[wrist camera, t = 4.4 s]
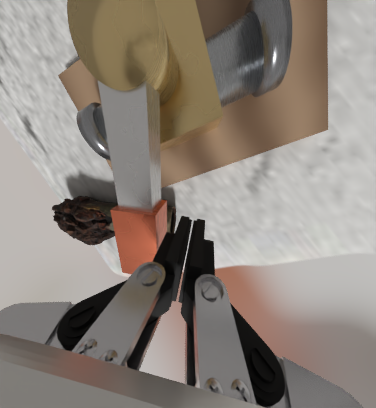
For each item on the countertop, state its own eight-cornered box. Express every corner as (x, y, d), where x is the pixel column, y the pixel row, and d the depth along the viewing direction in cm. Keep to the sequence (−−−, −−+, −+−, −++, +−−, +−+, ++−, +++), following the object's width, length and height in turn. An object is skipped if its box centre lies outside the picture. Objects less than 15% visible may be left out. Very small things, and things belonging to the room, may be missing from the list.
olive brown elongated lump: (177, 201, 21) (167, 221, 16) (176, 236, 24) (167, 263, 19) (71, 189, 22) (32, 204, 17) (83, 224, 25) (51, 245, 20)
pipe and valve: (253, 14, 11) (318, -176, 4) (266, 106, 13) (322, 71, 7) (102, 107, 16) (22, 80, 9) (131, 164, 18) (85, 177, 11)
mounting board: (309, -96, 10) (326, -135, 8) (316, 130, 15) (328, 129, 13) (71, 81, 16) (58, 75, 15) (133, 195, 21) (128, 199, 20)
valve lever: (118, 31, 7) (50, -52, 4) (179, 30, 7) (155, -61, 4) (139, 241, 13) (118, 271, 10) (173, 246, 12) (162, 279, 9)
